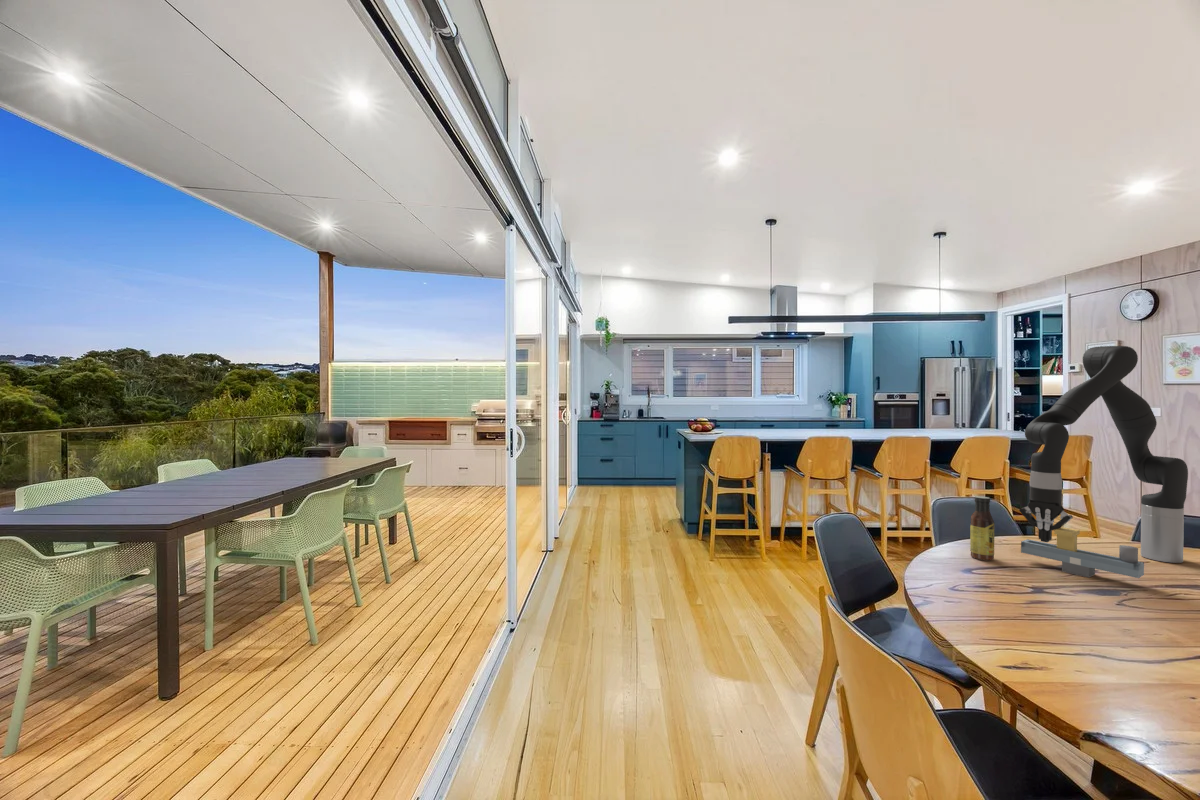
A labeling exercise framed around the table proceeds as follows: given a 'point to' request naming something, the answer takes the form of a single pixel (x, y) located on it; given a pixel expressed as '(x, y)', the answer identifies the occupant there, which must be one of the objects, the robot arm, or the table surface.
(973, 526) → the sauce bottle
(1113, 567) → the beam
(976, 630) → the table surface
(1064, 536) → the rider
